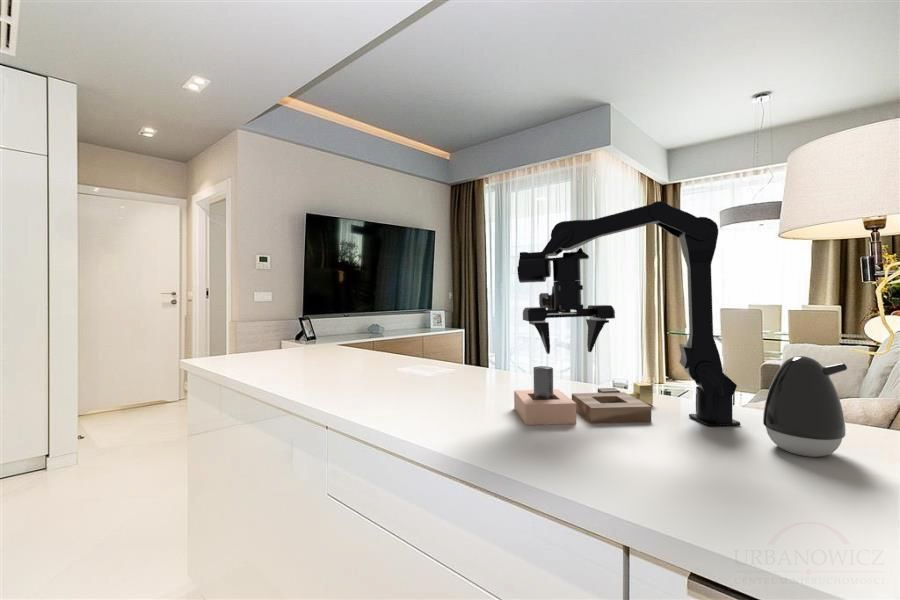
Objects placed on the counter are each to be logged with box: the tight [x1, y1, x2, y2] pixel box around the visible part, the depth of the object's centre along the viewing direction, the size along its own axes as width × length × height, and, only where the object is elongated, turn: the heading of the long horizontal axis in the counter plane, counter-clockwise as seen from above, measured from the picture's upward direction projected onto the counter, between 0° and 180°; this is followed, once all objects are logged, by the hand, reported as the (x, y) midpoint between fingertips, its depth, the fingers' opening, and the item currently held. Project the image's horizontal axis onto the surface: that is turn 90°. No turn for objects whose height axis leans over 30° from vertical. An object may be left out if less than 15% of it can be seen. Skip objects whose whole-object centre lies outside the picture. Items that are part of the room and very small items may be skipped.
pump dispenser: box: [762, 355, 848, 458], centre depth 69 cm, size 10×10×15 cm
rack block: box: [513, 388, 577, 426], centre depth 91 cm, size 12×10×4 cm
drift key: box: [626, 381, 654, 405], centre depth 99 cm, size 3×11×4 cm, turn 92°
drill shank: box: [533, 365, 554, 400], centre depth 90 cm, size 4×4×10 cm
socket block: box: [571, 387, 652, 424], centre depth 92 cm, size 15×12×3 cm
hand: (568, 352), depth 94 cm, fingers open, 9 cm apart
